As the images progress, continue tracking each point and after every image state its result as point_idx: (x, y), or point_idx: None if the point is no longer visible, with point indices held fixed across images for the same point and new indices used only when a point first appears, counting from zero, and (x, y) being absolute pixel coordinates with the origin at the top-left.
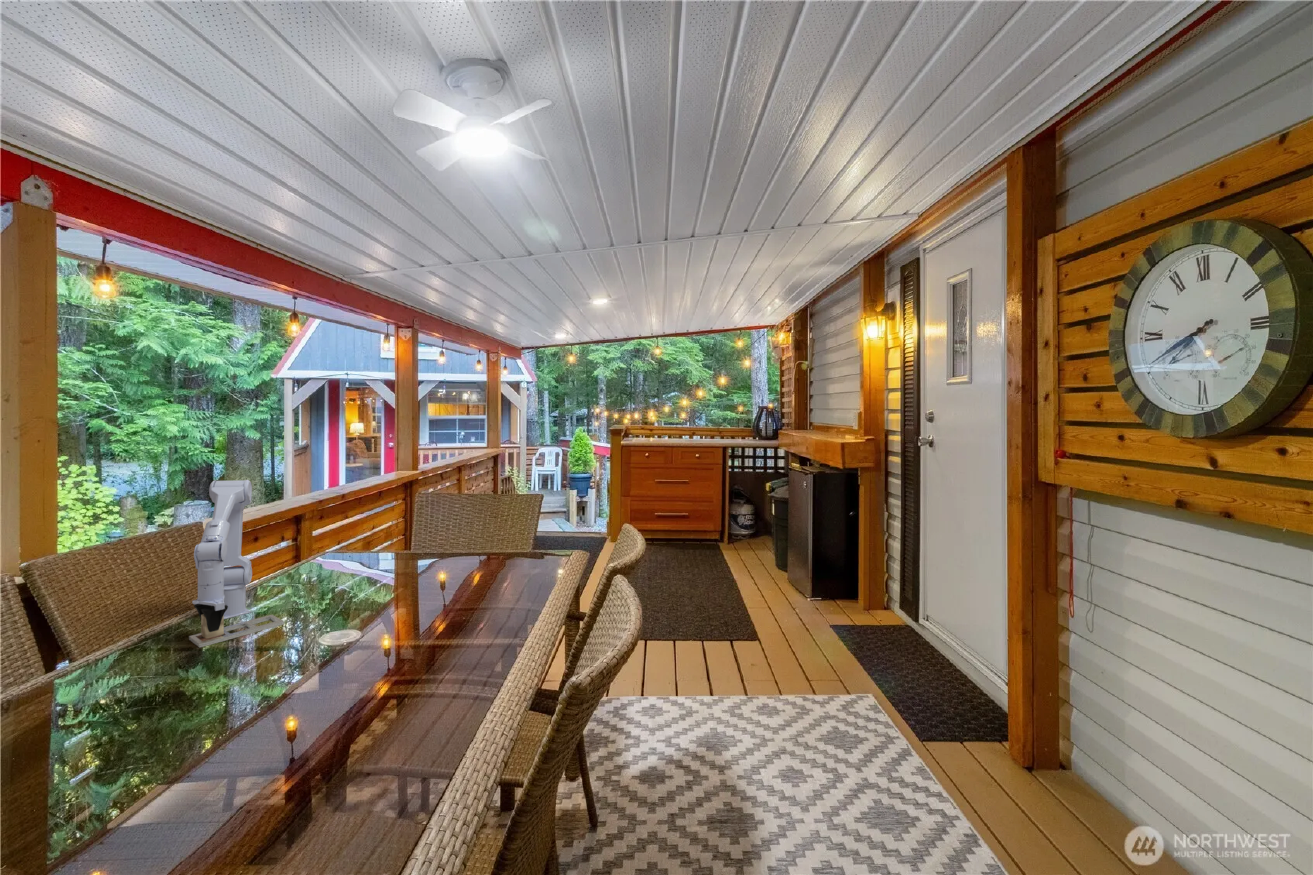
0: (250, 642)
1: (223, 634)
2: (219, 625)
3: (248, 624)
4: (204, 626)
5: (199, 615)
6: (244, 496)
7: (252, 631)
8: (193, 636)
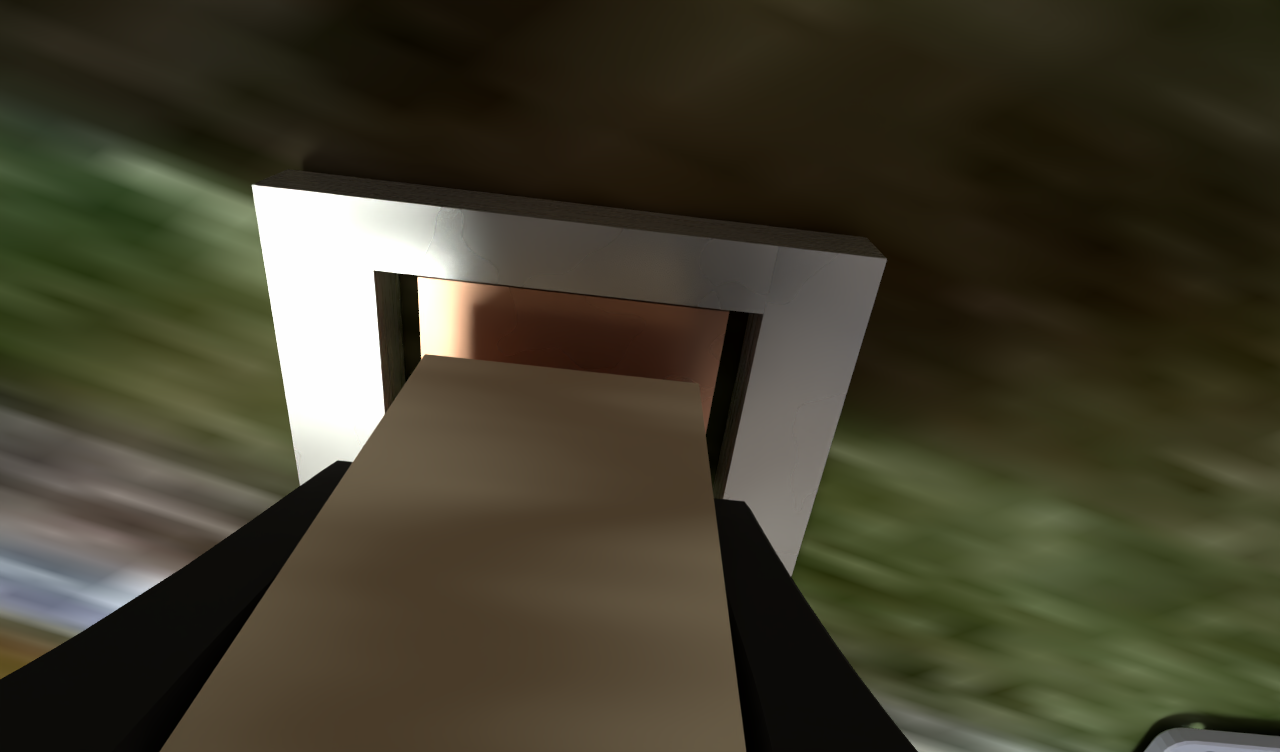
0: (53, 597)
1: None
2: None
3: None
4: (468, 507)
5: (916, 750)
6: None
7: None
8: (788, 293)
